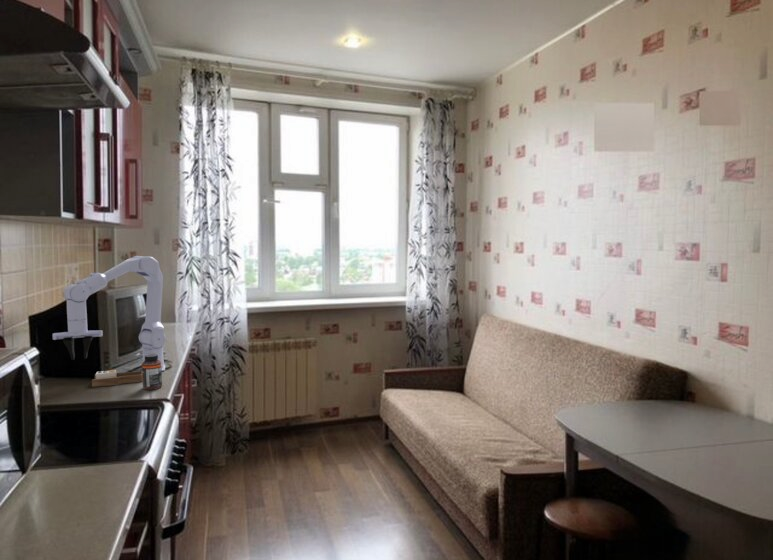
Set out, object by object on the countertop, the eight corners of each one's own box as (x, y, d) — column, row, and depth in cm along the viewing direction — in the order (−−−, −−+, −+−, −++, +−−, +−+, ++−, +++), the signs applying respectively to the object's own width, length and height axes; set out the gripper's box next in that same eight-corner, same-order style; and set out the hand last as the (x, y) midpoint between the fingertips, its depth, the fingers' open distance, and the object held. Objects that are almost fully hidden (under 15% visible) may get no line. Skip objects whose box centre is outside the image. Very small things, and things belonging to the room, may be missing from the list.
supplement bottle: (143, 386, 174) (141, 353, 173) (162, 384, 176) (160, 352, 175) (142, 391, 168) (141, 357, 167) (162, 388, 171) (161, 355, 170)
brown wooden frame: (95, 381, 180) (94, 374, 180) (144, 376, 186) (144, 370, 186) (92, 387, 173) (91, 380, 173) (143, 381, 179) (143, 375, 179)
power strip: (97, 382, 179) (96, 370, 178) (116, 381, 181) (116, 369, 181) (96, 385, 176) (95, 373, 175) (115, 383, 178) (115, 371, 178)
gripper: (49, 322, 167) (52, 363, 168) (99, 319, 172) (101, 359, 173) (54, 319, 173) (56, 358, 174) (102, 316, 179) (104, 354, 180)
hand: (79, 358), depth 174 cm, fingers open, 3 cm apart
